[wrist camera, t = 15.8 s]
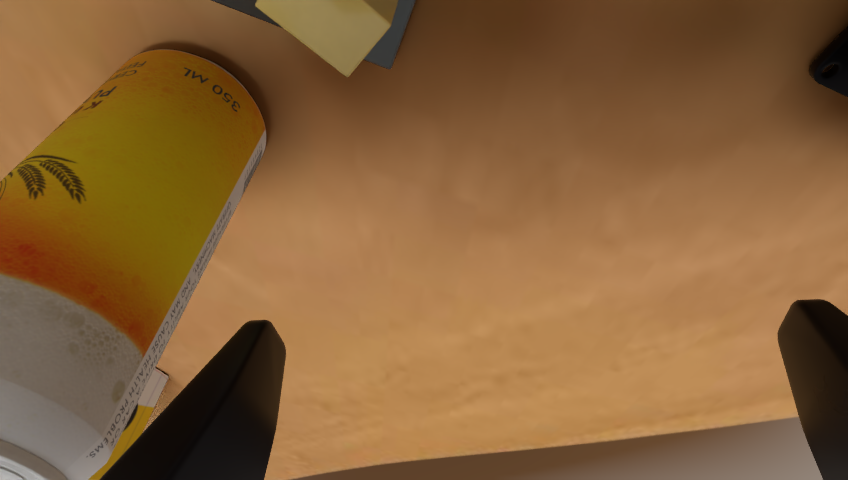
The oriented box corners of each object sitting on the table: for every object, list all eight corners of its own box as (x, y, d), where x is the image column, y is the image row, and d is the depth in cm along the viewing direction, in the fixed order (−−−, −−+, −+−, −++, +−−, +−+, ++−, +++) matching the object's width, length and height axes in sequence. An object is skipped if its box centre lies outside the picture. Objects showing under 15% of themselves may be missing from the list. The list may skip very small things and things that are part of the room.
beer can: (125, 12, 19) (-318, 370, 8) (286, 80, 21) (79, 458, 10) (123, 137, 23) (-180, 485, 12) (257, 186, 25) (88, 536, 14)
